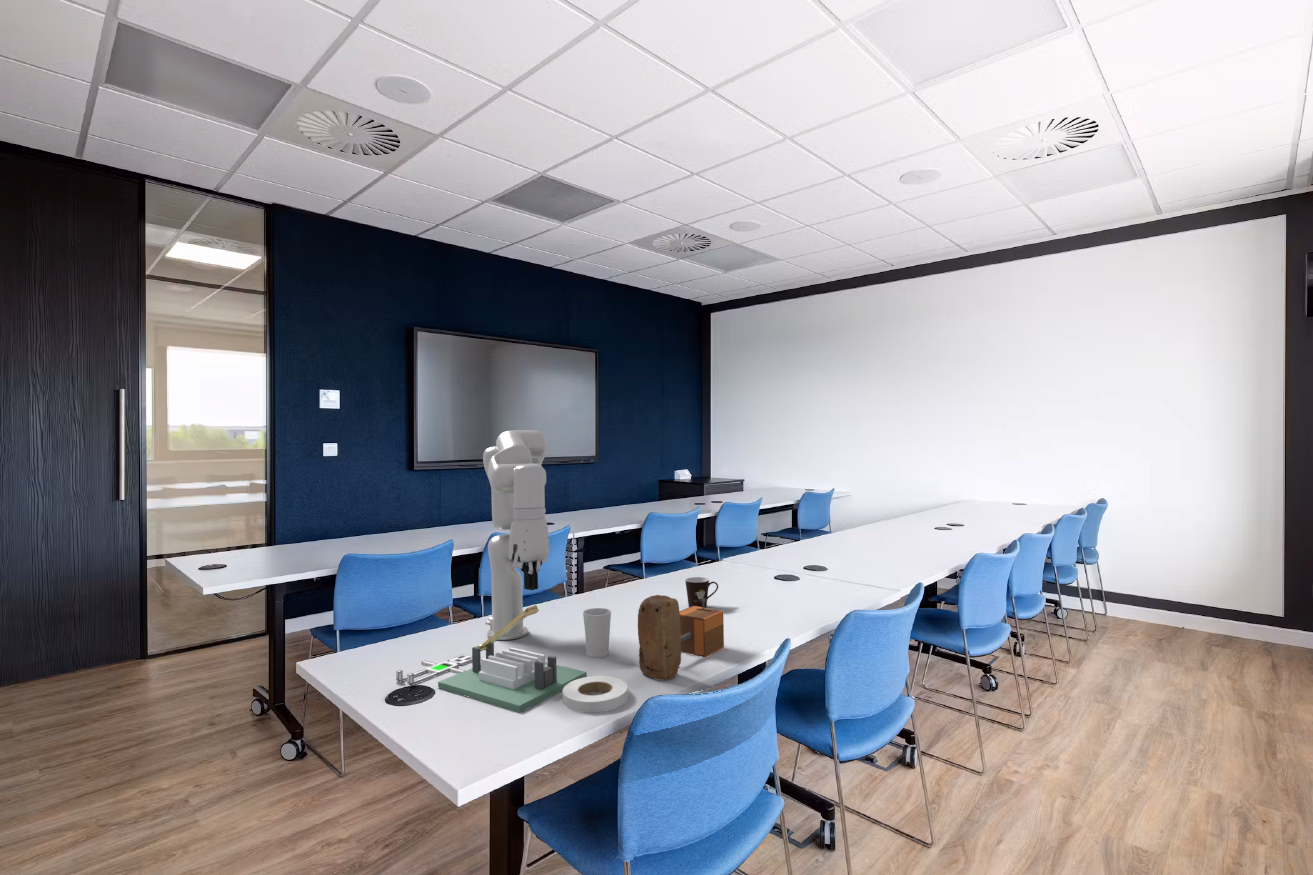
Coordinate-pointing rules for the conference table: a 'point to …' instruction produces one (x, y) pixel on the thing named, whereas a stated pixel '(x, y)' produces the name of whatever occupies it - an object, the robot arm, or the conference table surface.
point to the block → (659, 637)
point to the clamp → (701, 630)
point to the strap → (508, 627)
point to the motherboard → (511, 678)
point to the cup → (597, 631)
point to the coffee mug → (698, 590)
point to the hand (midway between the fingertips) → (531, 588)
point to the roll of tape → (593, 703)
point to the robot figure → (435, 669)
